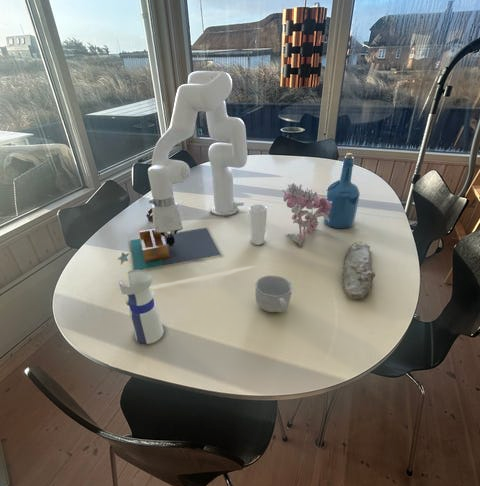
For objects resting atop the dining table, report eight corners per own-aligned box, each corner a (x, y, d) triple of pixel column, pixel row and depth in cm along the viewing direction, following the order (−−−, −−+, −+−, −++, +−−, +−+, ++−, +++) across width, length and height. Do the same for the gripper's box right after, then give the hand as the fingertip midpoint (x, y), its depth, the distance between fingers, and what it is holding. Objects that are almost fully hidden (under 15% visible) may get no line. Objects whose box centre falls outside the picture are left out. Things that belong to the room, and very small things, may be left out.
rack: (163, 239, 134) (161, 227, 131) (169, 258, 121) (167, 245, 118) (141, 243, 132) (138, 231, 129) (145, 263, 119) (142, 250, 116)
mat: (206, 229, 142) (206, 227, 142) (220, 255, 123) (220, 254, 123) (131, 241, 134) (130, 240, 134) (134, 272, 115) (134, 270, 115)
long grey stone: (372, 252, 125) (345, 249, 128) (374, 239, 123) (347, 237, 126) (373, 304, 97) (339, 299, 100) (376, 289, 95) (340, 284, 98)
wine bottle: (355, 219, 147) (369, 151, 130) (351, 231, 137) (365, 159, 120) (325, 214, 152) (335, 148, 135) (319, 226, 142) (328, 156, 125)
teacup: (253, 295, 103) (253, 275, 98) (286, 293, 103) (288, 272, 99) (259, 326, 91) (259, 304, 87) (296, 323, 92) (299, 301, 88)
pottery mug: (170, 226, 146) (158, 213, 140) (154, 233, 150) (141, 221, 144) (175, 209, 154) (164, 197, 148) (159, 216, 157) (148, 204, 152)
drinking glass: (267, 239, 133) (268, 205, 125) (263, 247, 128) (264, 212, 119) (252, 237, 135) (252, 203, 126) (247, 245, 130) (246, 210, 121)
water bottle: (126, 341, 88) (102, 264, 74) (145, 320, 94) (125, 246, 80) (152, 348, 85) (132, 271, 71) (169, 327, 92) (154, 252, 78)
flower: (346, 244, 125) (345, 178, 121) (293, 249, 119) (291, 179, 115) (319, 242, 144) (317, 185, 141) (272, 246, 138) (269, 186, 134)
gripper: (143, 207, 112) (153, 252, 123) (186, 201, 116) (191, 245, 126) (141, 200, 118) (151, 243, 128) (182, 194, 122) (188, 237, 132)
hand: (171, 244), depth 127 cm, fingers closed
